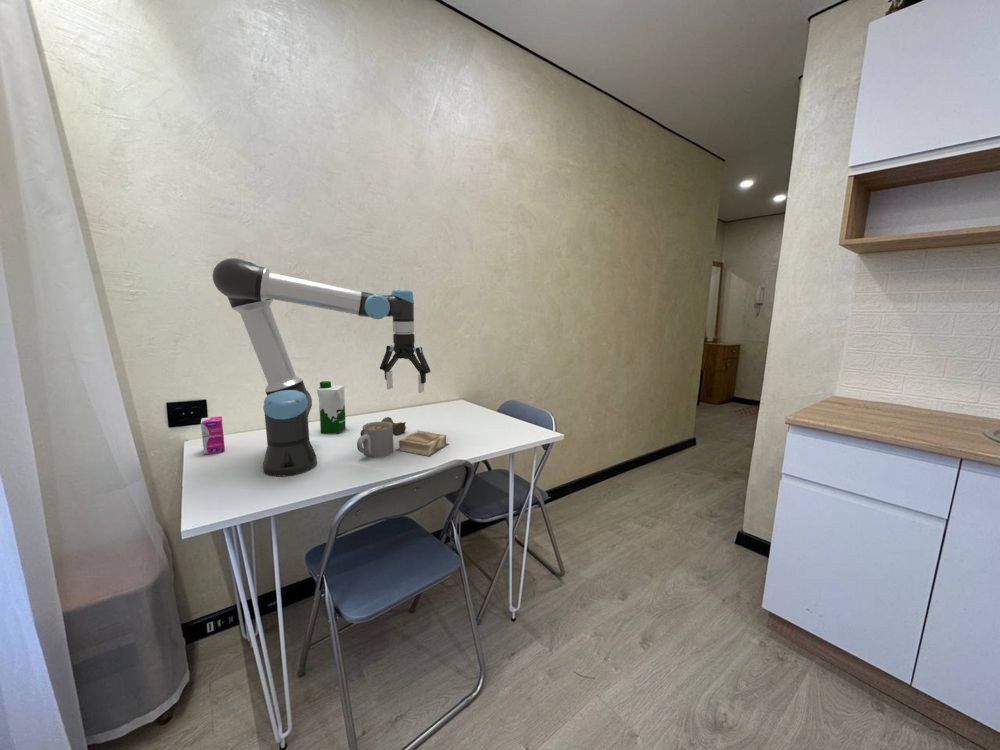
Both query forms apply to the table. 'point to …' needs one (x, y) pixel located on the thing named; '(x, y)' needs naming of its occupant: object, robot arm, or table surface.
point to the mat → (422, 454)
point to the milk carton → (331, 407)
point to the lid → (422, 442)
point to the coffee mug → (376, 439)
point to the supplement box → (212, 435)
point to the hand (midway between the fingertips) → (405, 390)
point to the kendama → (394, 426)
